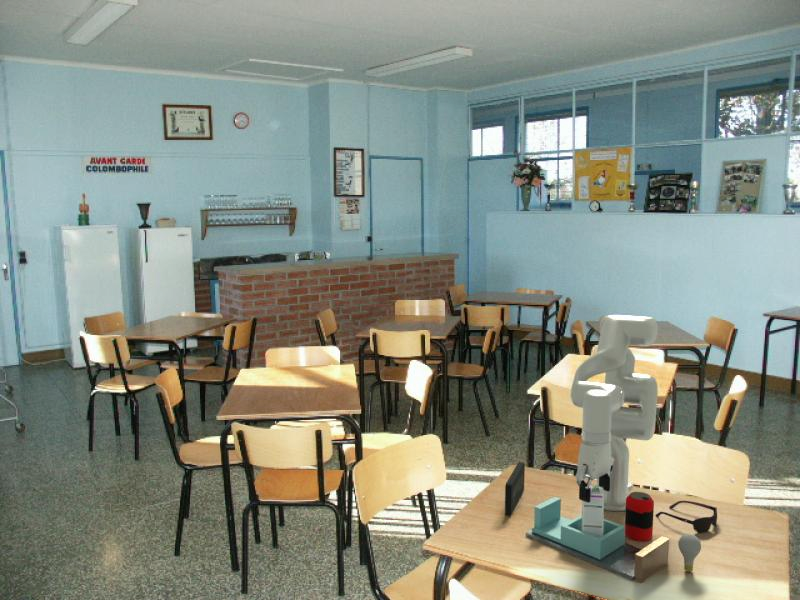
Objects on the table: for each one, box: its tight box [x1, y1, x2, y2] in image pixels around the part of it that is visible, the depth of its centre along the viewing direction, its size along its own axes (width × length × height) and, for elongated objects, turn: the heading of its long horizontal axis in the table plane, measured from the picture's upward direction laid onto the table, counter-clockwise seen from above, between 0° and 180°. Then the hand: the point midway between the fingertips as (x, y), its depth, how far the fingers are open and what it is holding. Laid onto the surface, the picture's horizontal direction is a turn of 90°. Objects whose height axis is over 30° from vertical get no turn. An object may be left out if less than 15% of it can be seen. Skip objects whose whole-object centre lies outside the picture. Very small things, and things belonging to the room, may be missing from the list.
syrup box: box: [581, 484, 605, 538], centre depth 198 cm, size 6×6×14 cm
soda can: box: [624, 491, 655, 542], centre depth 206 cm, size 8×8×12 cm
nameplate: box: [504, 461, 526, 516], centre depth 229 cm, size 21×2×10 cm, turn 159°
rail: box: [525, 529, 670, 584], centre depth 199 cm, size 15×36×7 cm, turn 43°
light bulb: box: [678, 533, 702, 573], centre depth 186 cm, size 6×5×10 cm
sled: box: [531, 496, 626, 560], centre depth 203 cm, size 12×22×7 cm, turn 43°
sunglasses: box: [655, 500, 718, 534], centre depth 216 cm, size 14×16×5 cm
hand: (594, 495), depth 198 cm, fingers open, 9 cm apart
